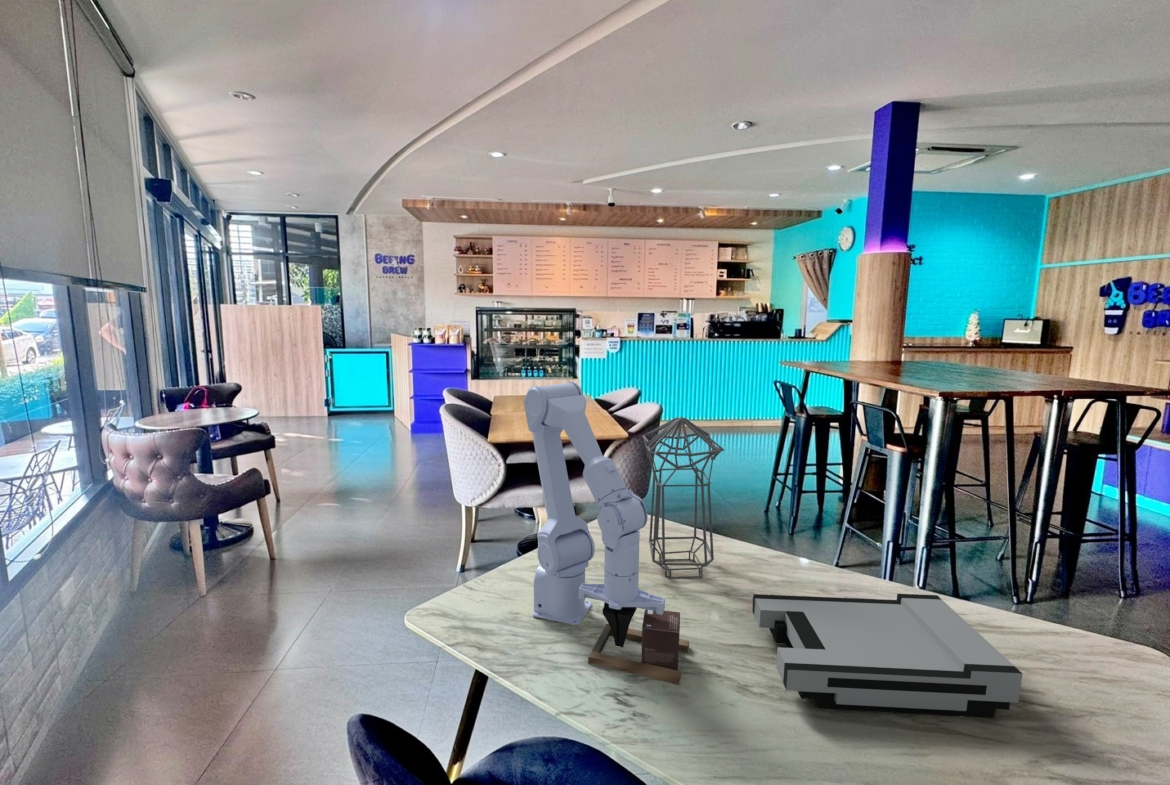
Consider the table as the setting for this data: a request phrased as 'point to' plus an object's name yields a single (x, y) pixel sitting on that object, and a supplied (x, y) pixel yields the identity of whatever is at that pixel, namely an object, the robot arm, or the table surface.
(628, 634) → the wooden u-shaped frame
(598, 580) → the table surface
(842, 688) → the game console
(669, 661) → the box
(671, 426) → the geometric lantern
